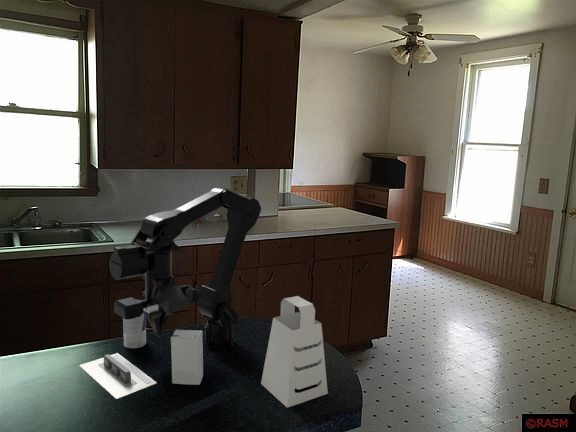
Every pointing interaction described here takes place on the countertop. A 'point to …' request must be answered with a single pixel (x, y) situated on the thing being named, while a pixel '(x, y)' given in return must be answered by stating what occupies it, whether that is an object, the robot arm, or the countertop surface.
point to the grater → (295, 354)
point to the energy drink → (134, 331)
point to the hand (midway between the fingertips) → (158, 336)
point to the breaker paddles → (117, 368)
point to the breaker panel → (117, 377)
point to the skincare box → (187, 357)
